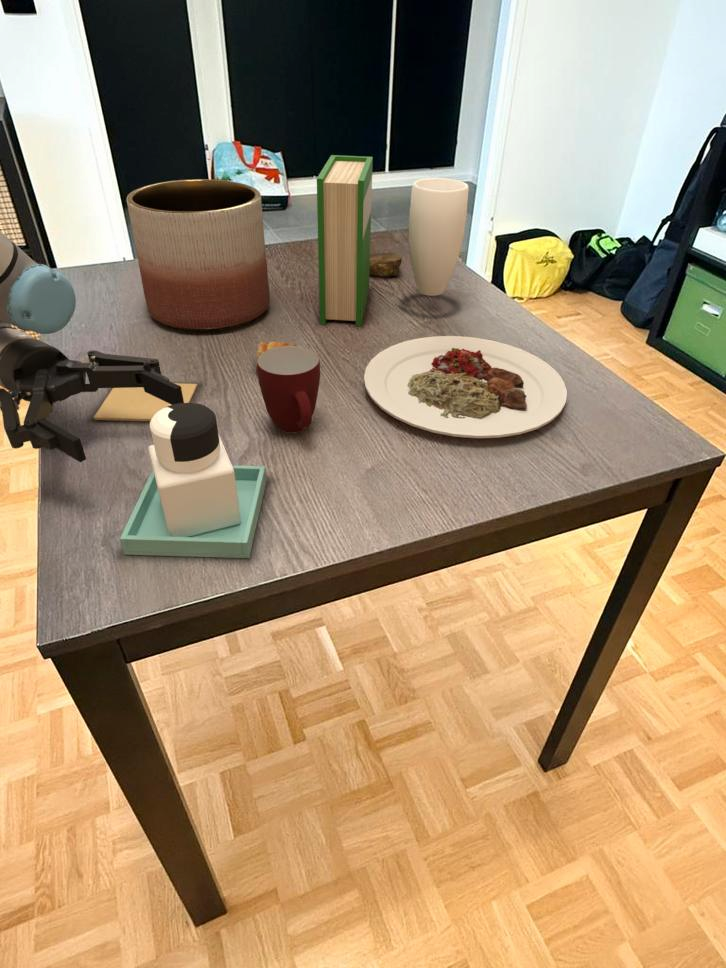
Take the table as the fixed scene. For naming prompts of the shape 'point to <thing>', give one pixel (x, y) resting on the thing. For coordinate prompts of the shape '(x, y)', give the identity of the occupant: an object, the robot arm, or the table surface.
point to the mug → (289, 385)
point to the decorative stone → (384, 264)
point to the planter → (200, 252)
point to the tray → (235, 541)
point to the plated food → (465, 387)
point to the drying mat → (136, 404)
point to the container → (192, 471)
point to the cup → (436, 231)
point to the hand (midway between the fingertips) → (133, 422)
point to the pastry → (269, 347)
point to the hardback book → (344, 237)
